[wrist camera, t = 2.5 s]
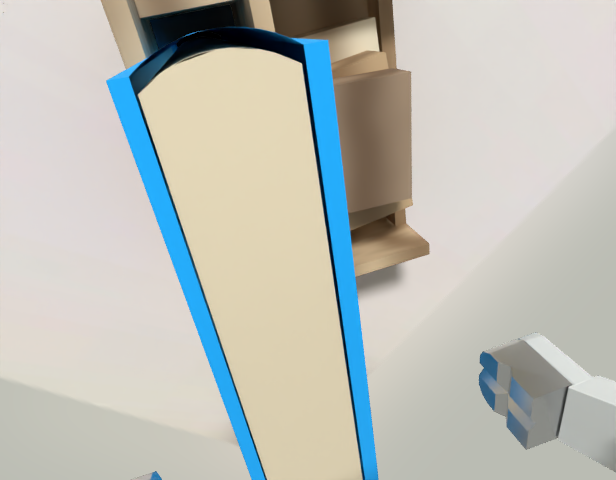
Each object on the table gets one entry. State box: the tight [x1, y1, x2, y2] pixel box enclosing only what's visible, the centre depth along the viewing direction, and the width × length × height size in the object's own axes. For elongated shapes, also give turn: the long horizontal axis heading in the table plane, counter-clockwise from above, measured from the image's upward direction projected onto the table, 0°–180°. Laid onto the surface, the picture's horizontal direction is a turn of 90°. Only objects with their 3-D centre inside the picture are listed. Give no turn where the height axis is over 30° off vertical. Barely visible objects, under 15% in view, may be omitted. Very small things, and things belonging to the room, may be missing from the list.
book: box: [106, 27, 378, 480], centre depth 22 cm, size 17×4×25 cm, turn 9°
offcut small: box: [333, 68, 412, 213], centre depth 26 cm, size 5×8×2 cm, turn 8°
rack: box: [101, 0, 429, 277], centre depth 28 cm, size 17×21×11 cm
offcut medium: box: [331, 50, 413, 231], centre depth 29 cm, size 6×11×3 cm, turn 17°
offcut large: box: [289, 17, 379, 63], centre depth 32 cm, size 7×14×3 cm, turn 13°
